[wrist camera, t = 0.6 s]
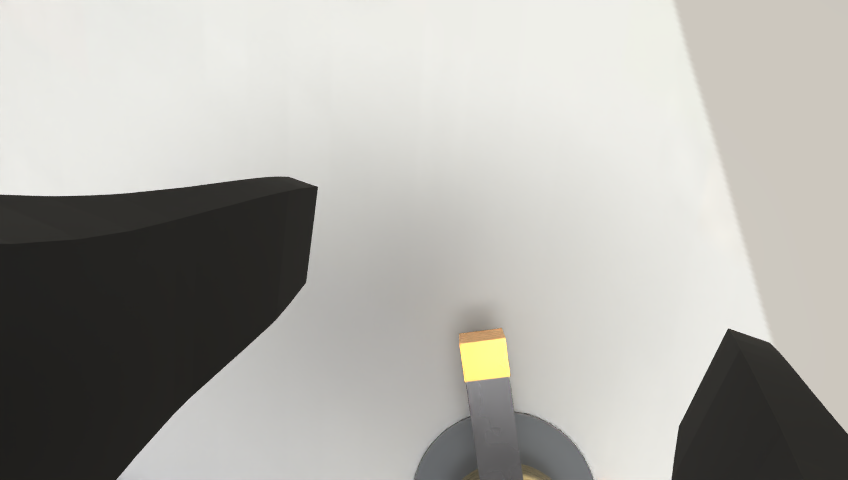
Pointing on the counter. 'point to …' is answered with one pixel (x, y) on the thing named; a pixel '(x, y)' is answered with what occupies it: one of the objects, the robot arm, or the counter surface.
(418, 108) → the counter surface
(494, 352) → the collar
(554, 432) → the post base
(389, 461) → the counter surface
